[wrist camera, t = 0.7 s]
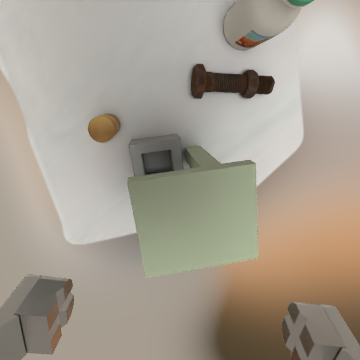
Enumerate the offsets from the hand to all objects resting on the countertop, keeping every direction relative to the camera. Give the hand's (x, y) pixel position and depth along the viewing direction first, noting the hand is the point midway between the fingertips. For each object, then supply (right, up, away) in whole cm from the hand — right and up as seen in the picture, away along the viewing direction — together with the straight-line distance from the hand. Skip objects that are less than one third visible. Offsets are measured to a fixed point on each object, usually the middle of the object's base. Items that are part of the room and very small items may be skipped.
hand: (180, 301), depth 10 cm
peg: (-13, +15, +39) cm, 44 cm away
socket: (-5, +9, +42) cm, 43 cm away
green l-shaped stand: (-2, +9, +42) cm, 43 cm away
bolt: (+10, +23, +40) cm, 47 cm away
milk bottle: (+11, +32, +37) cm, 51 cm away
